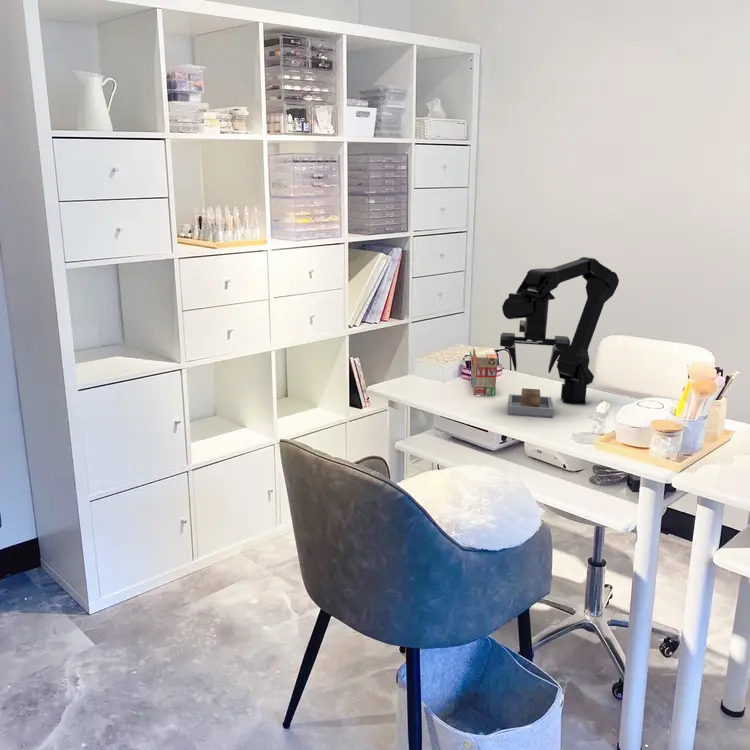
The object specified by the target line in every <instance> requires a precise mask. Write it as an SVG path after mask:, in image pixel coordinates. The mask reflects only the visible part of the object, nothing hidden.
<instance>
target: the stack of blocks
mask: <svg viewBox="0 0 750 750" xmlns="http://www.w3.org/2000/svg"><path fill="white" fill-rule="evenodd" d="M470 357H471V382H470V384H472V385H471V388H472V387H473V388H472V392H473V396H474V395H481V396H480V397H493V396H495V397H496V389H497V388H496V382H497V375H498V363H499V362H498V361H499V357H498V356H497V352H496V351H495V349H494V348H493V347H473V348H472V349H470V351H469V358H470ZM482 395H484V396H482ZM485 395H486V396H485Z"/></svg>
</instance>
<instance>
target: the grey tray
mask: <svg viewBox="0 0 750 750" xmlns="http://www.w3.org/2000/svg"><path fill="white" fill-rule="evenodd" d="M507 400H508V401H507V415H508V416H516V417H517V416H518V417H519V416H520V417H534V418H546V419H547V418H548V419H553V411H554V407H553V402H552V397H551V396H543V395H540V406H539V407H528V406H521V394H515V393H514V394H513V393H512V394H511V393H509V394H508V398H507Z"/></svg>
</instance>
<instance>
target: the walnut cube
mask: <svg viewBox="0 0 750 750" xmlns="http://www.w3.org/2000/svg"><path fill="white" fill-rule="evenodd" d="M520 395H521V406H528V407H539V406H540V396H541V389H539V388H527V387H526V388H525V387H523V388H522V387H521V394H520Z"/></svg>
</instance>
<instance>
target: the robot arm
mask: <svg viewBox="0 0 750 750" xmlns="http://www.w3.org/2000/svg"><path fill="white" fill-rule="evenodd" d="M581 276H582V278H583V279H584V280H585V281H586V283H585V291H586V297H587V298H586V301H585V304H584V306H583V309H582V313H581V315H580V319H579V320H578V324H577V327H576V330H575V333H574V335H573V337H572V340H570V338H569V337H568V336H565V335H554V338H546V336H547V325H548V313H549V304H550V303H549V302H550V301H551V300H555V299H556V297H555V295H553V294H552V293H551V291H553V290H555V289H556V288H558V286H559V285H560V284H562V283H563V282H567V281H569V280H573V279H575V278H577V277H581ZM619 282H620V279H619V277H618V274H617V273H616V272H615V271H612V269H610V268H608V267H607V266H605V265H603V264H601V262H600V261H598V260H597V259H596V258H593V257H586V256H583V257H580V258H578V259H575V260H573V261H570V262H567V263H563V264H561V265H558V266H555V267H551V268H531V269H530V270H528V271H527V272H526V275H525V277H524V278H523V280H522V282H521V283H520V285H519V287H518V288H517V290H516V292H515V293H512V292H510V293H509V294H508V298H506V299H505V300H504V301H503V304H502V307H501V308H502V313H503V316H504V317H505V318H506V319H508V320H517V319H520V320H519V325H518V326H519V331H518V332H519V333H523V336H516V333H515V332H502V333H501V334H500V340H499V341H500V342H499V346H501V347H504V348H503V349H504V350H506V351H508V353H509V355H510V358H511V361H512V365H513V369H514V371H515V372H516V371H517V367H518V366H517V364H518V363H517V352H516V351H517V350H516V349H517V348H516V344H519V345H520V344H522V345H536V346H552V347H551V355H550V359H549V364H548V370H547V371H548V374H550V373H551V372H552V370H553V367H554V365H555V363H556V362H557V364H556V369H557V370H558V371H557V372H558V375H559V379H561V380H563V383H561V390H560V391H561V392H560V398H561V400H562V403H564V404H573V405H574V404H576V405H586V404H587V402H586V401H587V399H586V398H587V387H588V385H591V384H592V383H593V381H594V378H595V376H594V374H593V373H592V371H591V370H590V369H589V364H590V355H589V349H590V348H589V347H590V344H591V342H592V339H593V336H594V333H595V331H596V329H597V324H598V322H599V320H600V316H601V313H602V310H603V308H604V305H605V304H606V302H608V300H609V299H611V298H612V297H613V296H614V294H615V293H616V290H617V289H618V286H619ZM521 319H525V320H521Z"/></svg>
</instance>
